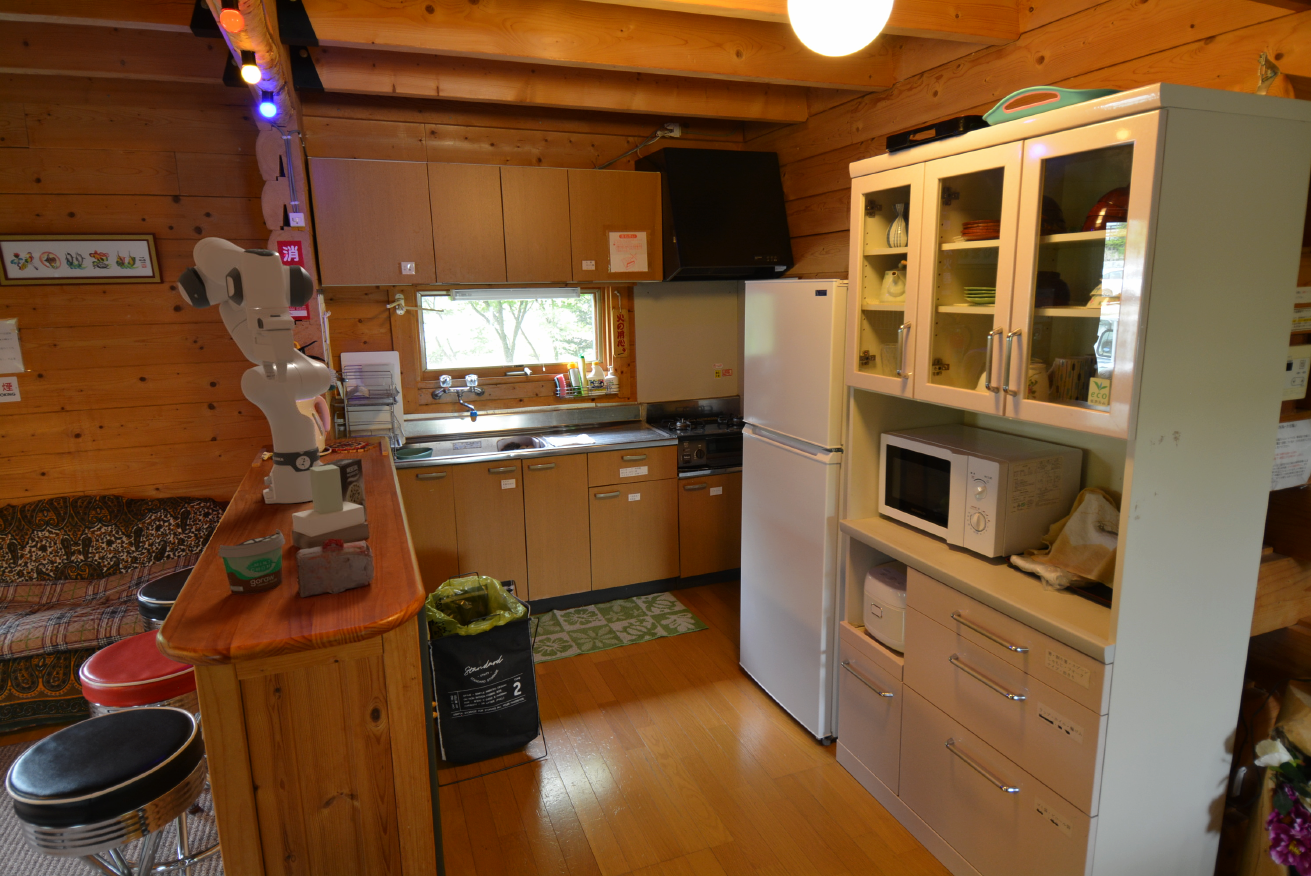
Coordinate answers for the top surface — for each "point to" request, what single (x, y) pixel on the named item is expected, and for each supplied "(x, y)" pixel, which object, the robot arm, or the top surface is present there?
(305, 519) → the white slab
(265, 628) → the top surface
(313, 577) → the food item
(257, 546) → the food container
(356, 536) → the walnut slab
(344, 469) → the coffee box
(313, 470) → the green block
